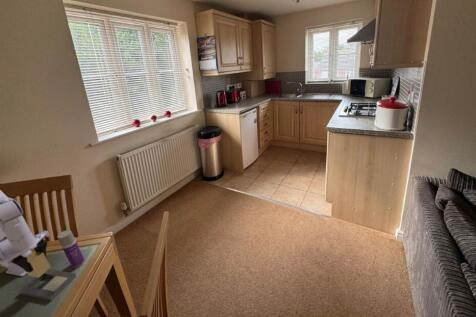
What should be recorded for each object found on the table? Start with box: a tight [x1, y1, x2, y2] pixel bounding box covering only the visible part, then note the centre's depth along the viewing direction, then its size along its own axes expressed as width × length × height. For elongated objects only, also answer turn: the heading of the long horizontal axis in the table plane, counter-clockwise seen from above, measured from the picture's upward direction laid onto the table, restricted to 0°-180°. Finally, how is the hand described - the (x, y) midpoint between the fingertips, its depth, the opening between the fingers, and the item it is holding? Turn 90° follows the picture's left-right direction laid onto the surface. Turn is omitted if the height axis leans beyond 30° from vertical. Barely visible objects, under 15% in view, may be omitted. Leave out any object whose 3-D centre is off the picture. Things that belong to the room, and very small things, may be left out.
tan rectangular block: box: [26, 250, 52, 278], centre depth 83 cm, size 4×4×7 cm
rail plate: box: [18, 268, 77, 302], centre depth 86 cm, size 14×10×2 cm
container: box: [56, 229, 86, 269], centre depth 92 cm, size 5×5×15 cm
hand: (36, 265), depth 83 cm, fingers closed on tan rectangular block, 4 cm apart
